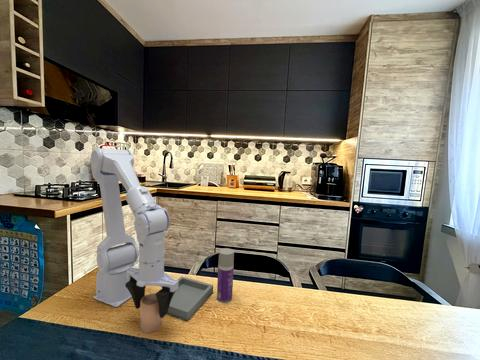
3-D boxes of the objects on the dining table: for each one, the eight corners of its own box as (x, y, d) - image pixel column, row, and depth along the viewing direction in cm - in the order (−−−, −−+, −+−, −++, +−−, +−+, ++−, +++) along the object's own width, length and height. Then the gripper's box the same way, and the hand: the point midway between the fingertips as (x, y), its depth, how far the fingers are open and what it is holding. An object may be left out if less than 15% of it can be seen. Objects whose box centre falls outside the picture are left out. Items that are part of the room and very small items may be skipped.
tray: (151, 308, 63) (151, 299, 63) (181, 283, 76) (181, 276, 76) (187, 321, 59) (187, 312, 58) (213, 292, 72) (213, 285, 71)
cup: (135, 329, 55) (135, 302, 54) (150, 316, 60) (150, 291, 59) (151, 335, 53) (151, 308, 53) (165, 322, 58) (166, 296, 57)
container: (229, 304, 66) (232, 255, 65) (214, 301, 67) (216, 253, 66) (233, 294, 71) (235, 249, 69) (219, 292, 72) (221, 247, 70)
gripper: (115, 258, 54) (116, 312, 55) (164, 272, 49) (164, 330, 50) (138, 248, 60) (138, 296, 62) (184, 259, 55) (183, 311, 56)
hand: (151, 310), depth 56 cm, fingers open, 7 cm apart
